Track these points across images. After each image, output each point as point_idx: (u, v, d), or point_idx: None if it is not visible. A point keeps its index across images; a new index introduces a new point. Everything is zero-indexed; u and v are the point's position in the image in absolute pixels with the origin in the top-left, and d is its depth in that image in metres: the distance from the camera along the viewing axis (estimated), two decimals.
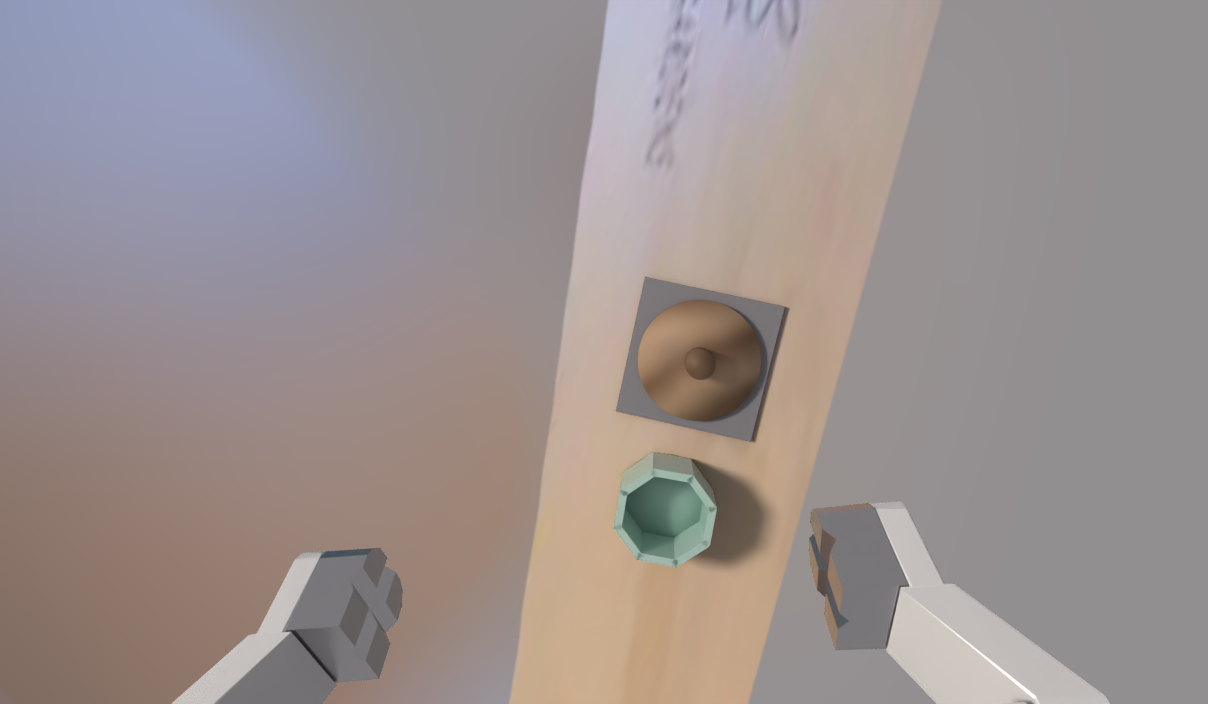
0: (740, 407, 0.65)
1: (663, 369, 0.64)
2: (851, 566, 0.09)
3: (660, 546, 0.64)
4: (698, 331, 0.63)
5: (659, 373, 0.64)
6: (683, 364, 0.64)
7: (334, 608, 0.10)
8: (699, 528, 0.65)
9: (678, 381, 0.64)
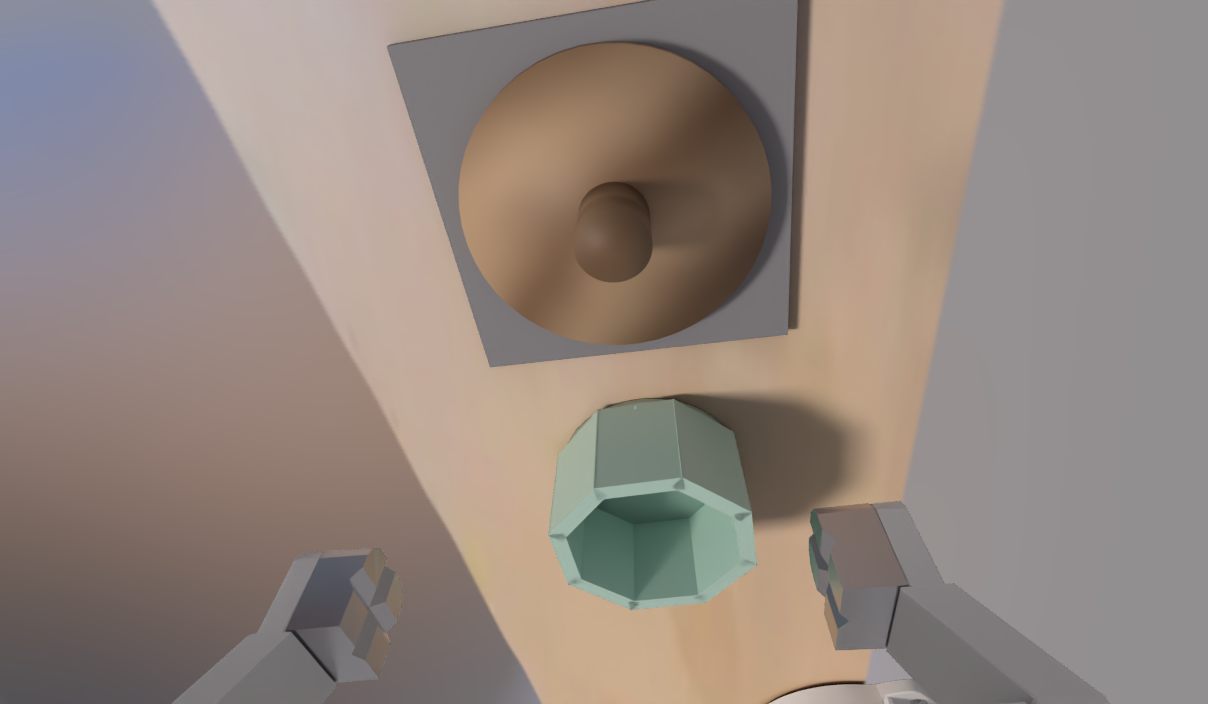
0: (746, 277, 0.27)
1: (543, 263, 0.26)
2: (851, 566, 0.09)
3: (668, 559, 0.35)
4: (584, 143, 0.23)
5: (538, 274, 0.27)
6: None
7: (334, 608, 0.10)
8: None
9: (586, 275, 0.27)
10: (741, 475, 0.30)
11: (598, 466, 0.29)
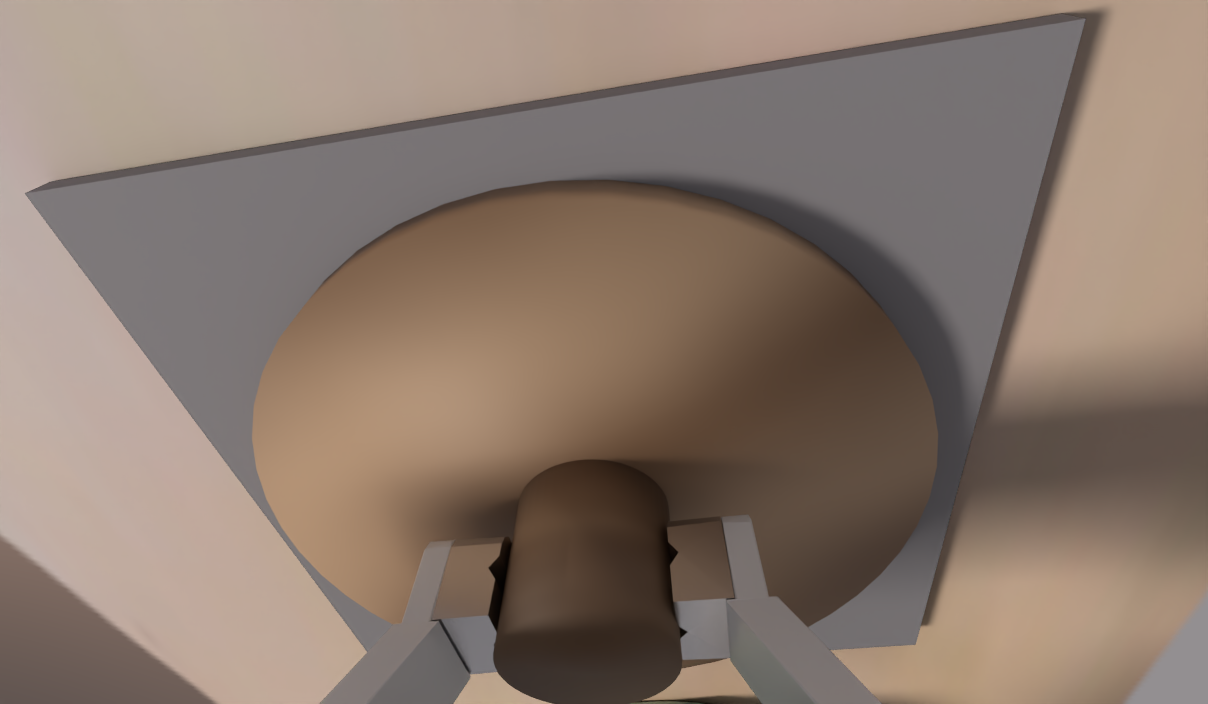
0: None
1: None
2: (686, 579, 0.09)
3: None
4: (518, 397, 0.10)
5: None
6: None
7: (478, 597, 0.10)
8: None
9: None
10: None
11: None
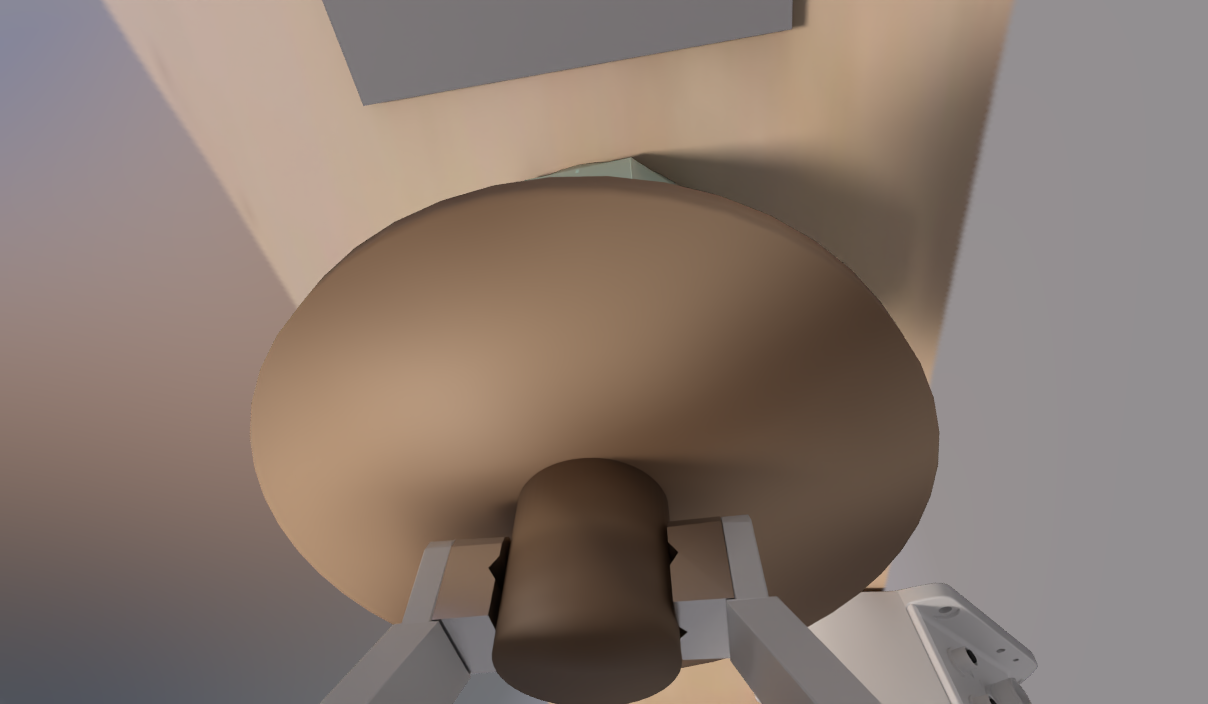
0: None
1: None
2: (686, 579, 0.09)
3: None
4: (517, 395, 0.10)
5: None
6: None
7: (478, 597, 0.10)
8: None
9: None
10: None
11: None
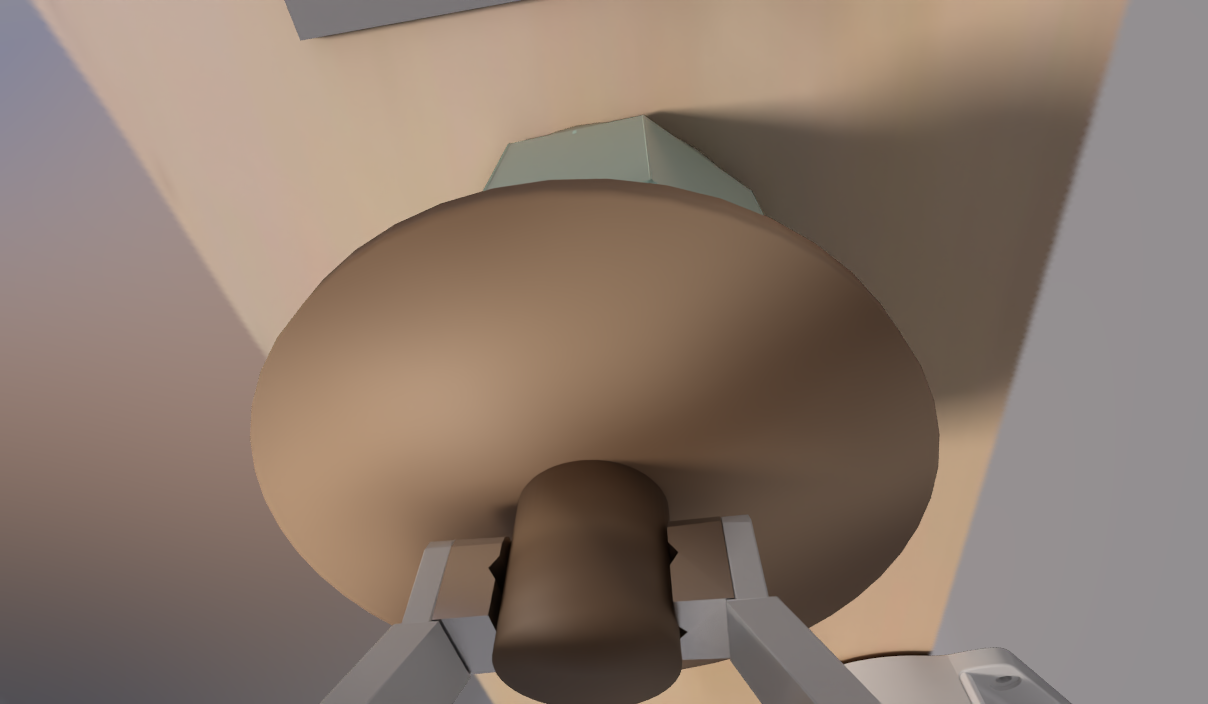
0: None
1: None
2: (686, 579, 0.09)
3: None
4: (518, 397, 0.10)
5: None
6: None
7: (478, 597, 0.10)
8: None
9: None
10: None
11: None
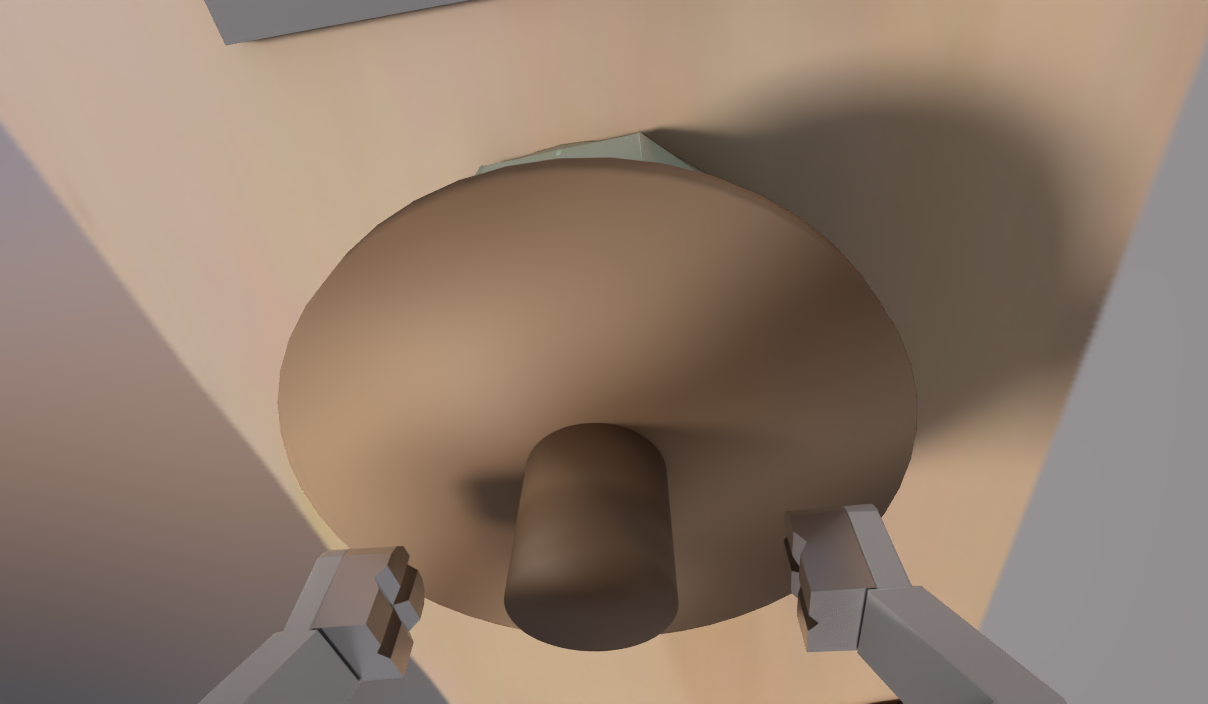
0: None
1: (465, 539, 0.14)
2: (820, 569, 0.09)
3: None
4: (527, 362, 0.11)
5: (459, 553, 0.14)
6: None
7: (360, 606, 0.10)
8: None
9: None
10: None
11: None
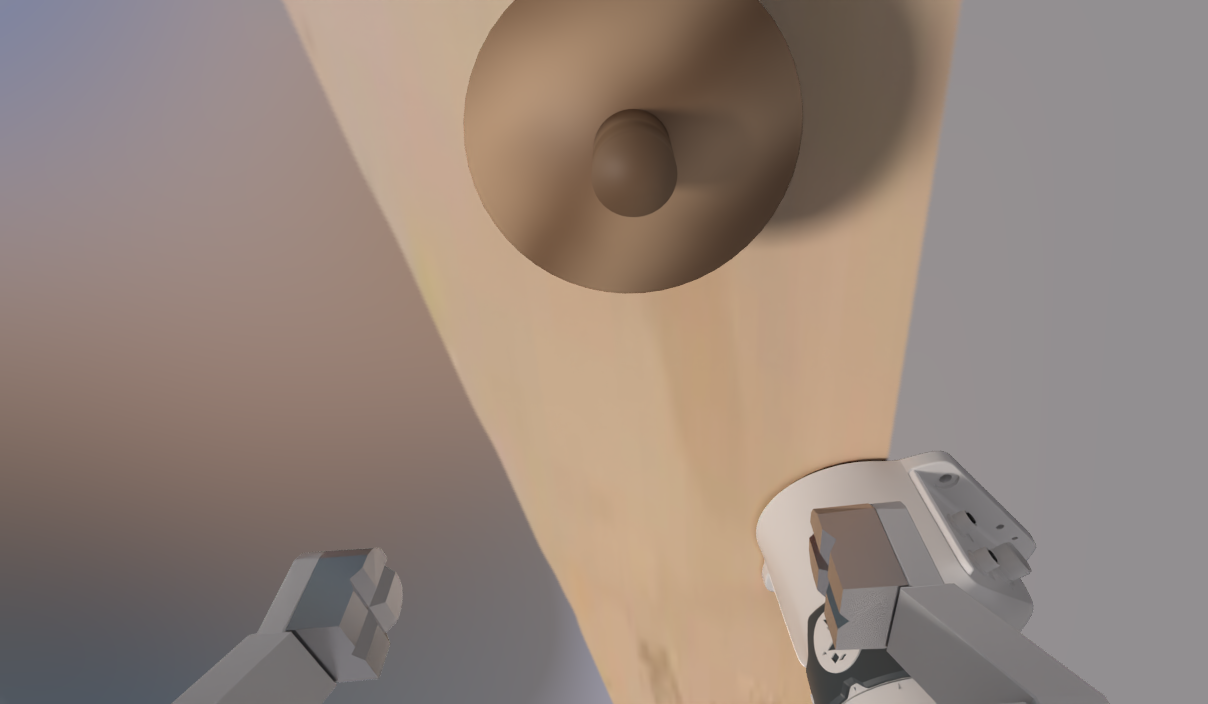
0: None
1: (556, 204, 0.25)
2: (851, 566, 0.09)
3: None
4: (598, 66, 0.21)
5: (551, 217, 0.25)
6: None
7: (334, 608, 0.10)
8: None
9: (604, 216, 0.25)
10: None
11: None
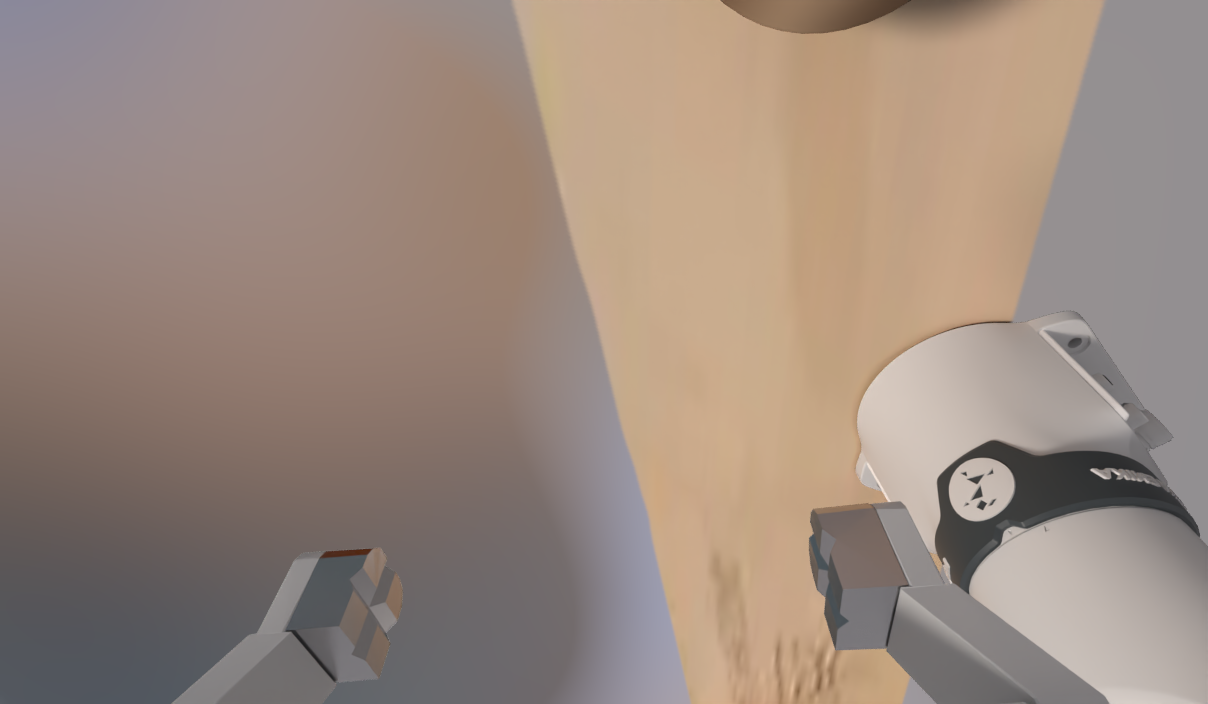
0: None
1: None
2: (851, 566, 0.09)
3: None
4: None
5: None
6: None
7: (334, 608, 0.10)
8: None
9: None
10: None
11: None
